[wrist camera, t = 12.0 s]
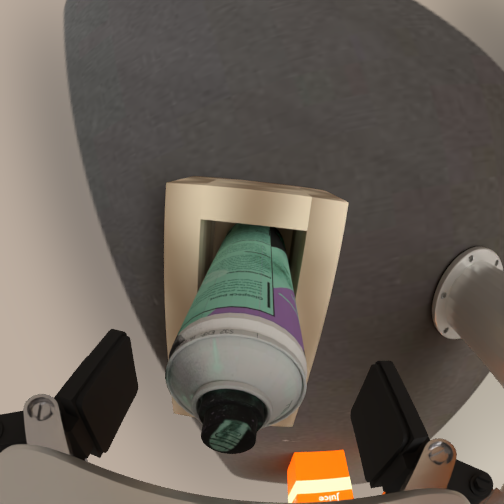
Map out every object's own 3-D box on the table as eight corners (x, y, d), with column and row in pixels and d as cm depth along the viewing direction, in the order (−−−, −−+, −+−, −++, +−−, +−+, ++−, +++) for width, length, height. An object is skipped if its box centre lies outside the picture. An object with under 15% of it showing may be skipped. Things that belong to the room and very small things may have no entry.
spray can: (227, 274, 27) (166, 469, 8) (222, 218, 26) (117, 374, 7) (284, 273, 27) (308, 475, 8) (283, 215, 25) (327, 381, 6)
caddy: (323, 190, 25) (348, 202, 18) (287, 376, 32) (292, 426, 25) (194, 176, 25) (166, 182, 18) (189, 365, 32) (173, 413, 25)
